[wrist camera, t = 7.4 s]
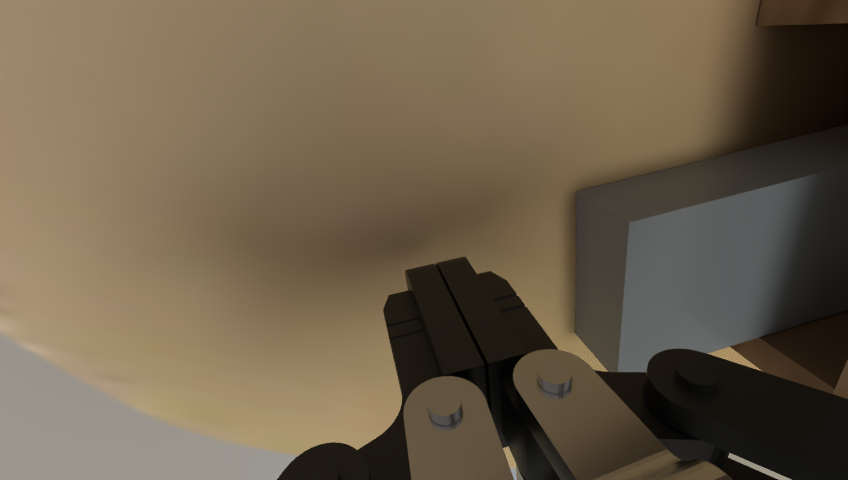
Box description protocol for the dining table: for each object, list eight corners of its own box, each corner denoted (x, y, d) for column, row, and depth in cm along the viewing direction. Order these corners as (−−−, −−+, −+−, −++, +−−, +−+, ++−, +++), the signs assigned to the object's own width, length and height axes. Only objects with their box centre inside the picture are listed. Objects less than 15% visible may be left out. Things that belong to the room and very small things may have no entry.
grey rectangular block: (570, 187, 14) (629, 222, 11) (869, 114, 15) (983, 130, 13) (570, 327, 17) (616, 381, 14) (823, 254, 18) (909, 290, 16)
